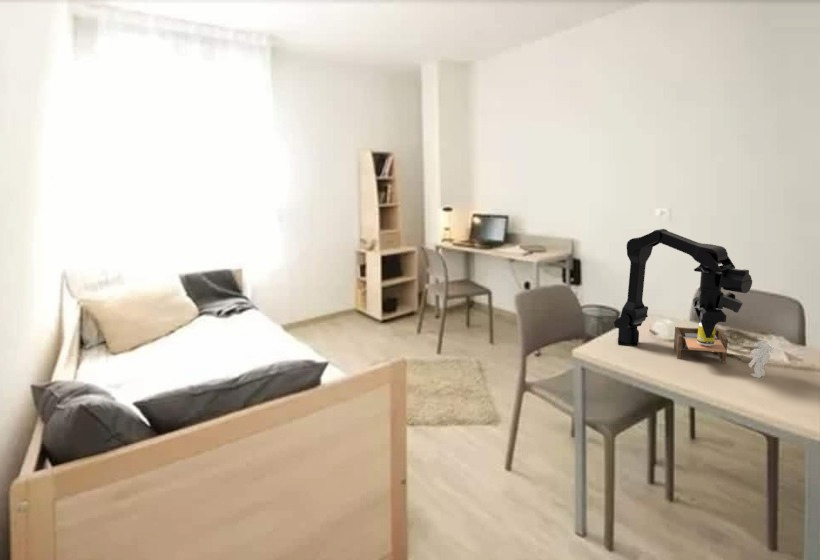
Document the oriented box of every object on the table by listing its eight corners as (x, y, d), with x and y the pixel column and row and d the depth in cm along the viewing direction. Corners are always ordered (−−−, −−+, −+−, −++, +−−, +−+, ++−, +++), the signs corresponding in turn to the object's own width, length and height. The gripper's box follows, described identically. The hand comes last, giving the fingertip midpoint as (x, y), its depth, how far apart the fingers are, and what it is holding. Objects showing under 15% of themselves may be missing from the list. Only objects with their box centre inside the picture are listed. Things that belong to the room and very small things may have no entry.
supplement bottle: (705, 346, 152) (708, 321, 150) (693, 342, 156) (695, 317, 154) (718, 344, 153) (720, 319, 151) (705, 340, 157) (707, 315, 156)
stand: (677, 358, 164) (678, 336, 162) (673, 348, 173) (675, 326, 171) (725, 362, 159) (727, 339, 157) (719, 351, 168) (721, 329, 166)
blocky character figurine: (756, 381, 145) (761, 343, 142) (743, 376, 148) (746, 339, 145) (773, 374, 149) (778, 336, 146) (760, 369, 152) (764, 333, 149)
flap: (686, 358, 155) (687, 346, 154) (680, 343, 167) (681, 332, 167) (726, 361, 151) (728, 349, 150) (717, 346, 163) (718, 334, 162)
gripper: (749, 295, 139) (743, 347, 142) (734, 281, 156) (729, 327, 159) (704, 294, 143) (700, 344, 147) (694, 279, 160) (690, 325, 163)
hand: (706, 334), depth 154 cm, fingers open, 5 cm apart
